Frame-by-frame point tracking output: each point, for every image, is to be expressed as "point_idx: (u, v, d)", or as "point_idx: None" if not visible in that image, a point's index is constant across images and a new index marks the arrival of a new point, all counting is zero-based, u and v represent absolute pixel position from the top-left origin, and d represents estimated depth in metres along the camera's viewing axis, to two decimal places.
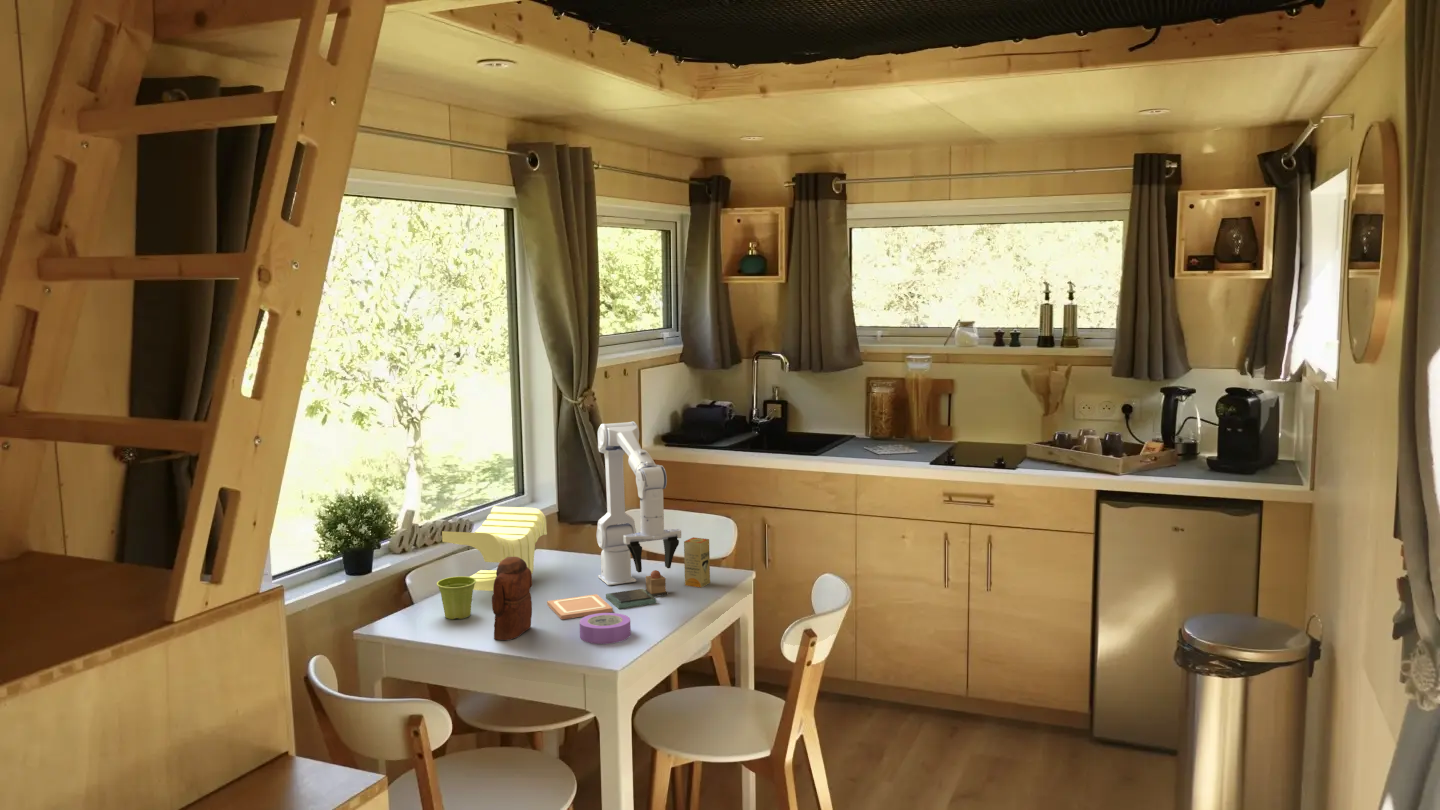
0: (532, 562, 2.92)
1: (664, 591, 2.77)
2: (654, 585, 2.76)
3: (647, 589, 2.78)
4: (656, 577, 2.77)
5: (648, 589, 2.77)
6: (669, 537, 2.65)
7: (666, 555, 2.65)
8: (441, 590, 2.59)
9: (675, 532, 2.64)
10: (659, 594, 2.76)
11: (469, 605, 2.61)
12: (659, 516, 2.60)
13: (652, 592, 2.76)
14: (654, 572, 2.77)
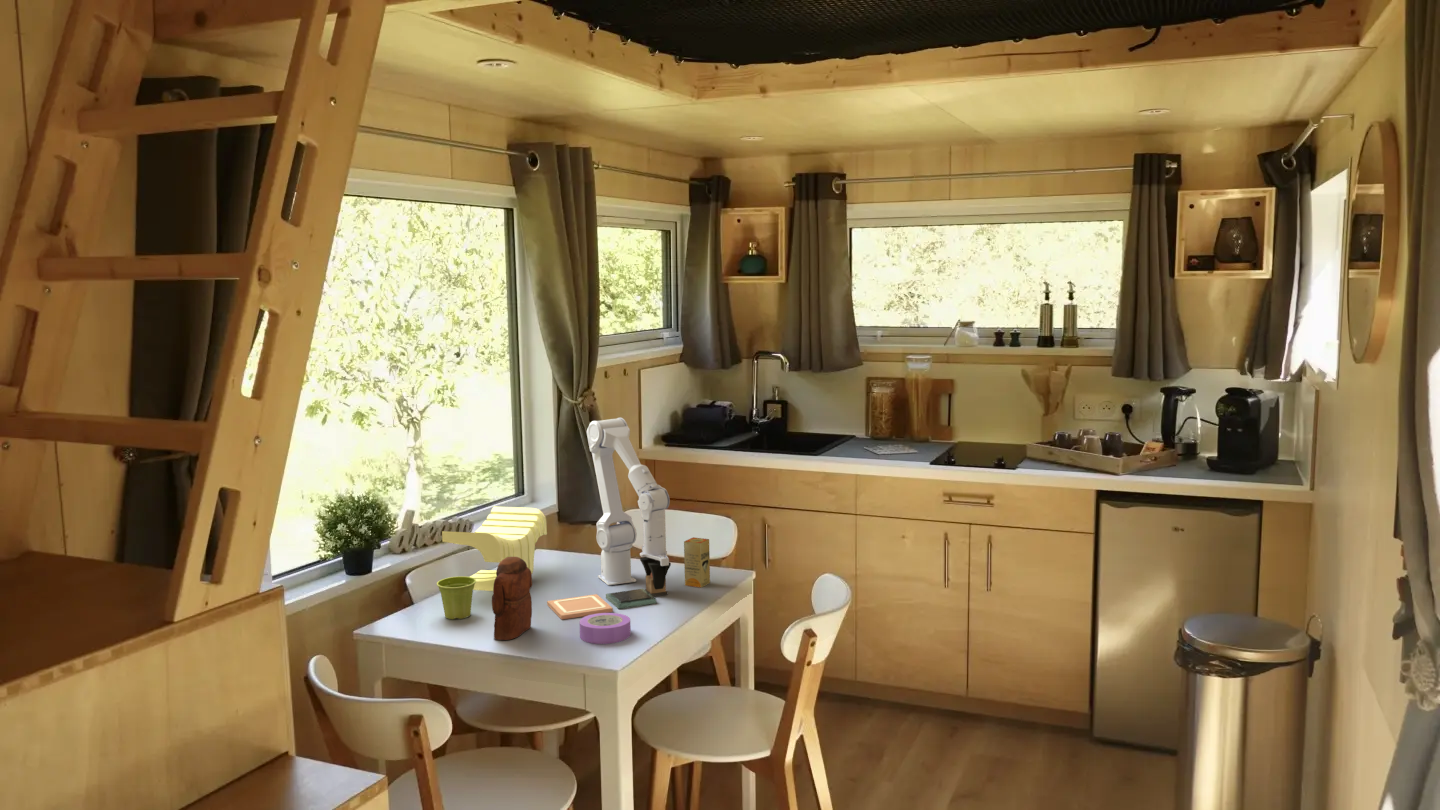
0: (532, 562, 2.92)
1: (664, 591, 2.77)
2: None
3: (647, 589, 2.78)
4: None
5: (648, 589, 2.77)
6: (657, 560, 2.74)
7: None
8: (441, 590, 2.59)
9: (658, 558, 2.71)
10: (659, 594, 2.76)
11: (469, 605, 2.61)
12: (646, 536, 2.74)
13: (652, 592, 2.76)
14: None
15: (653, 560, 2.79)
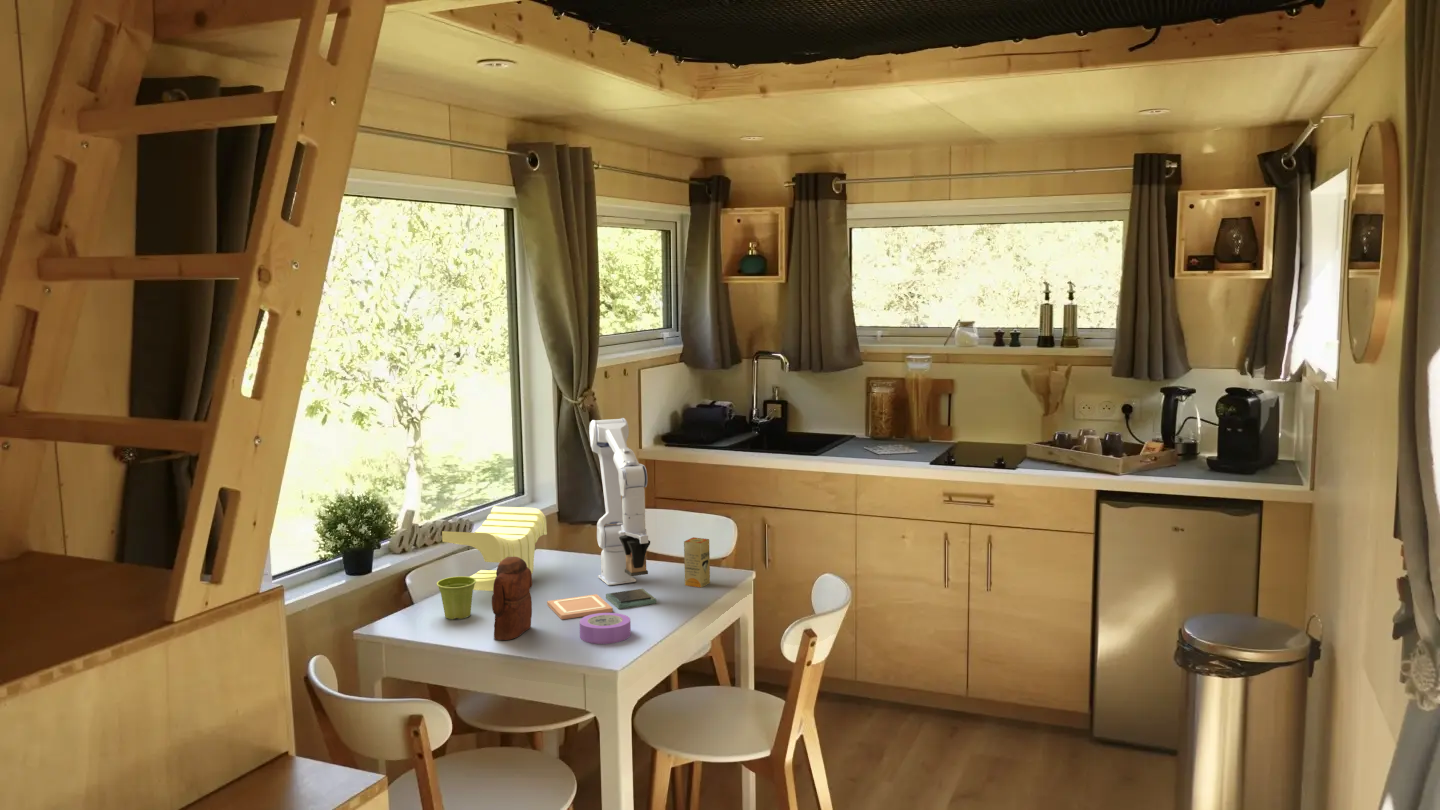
0: (532, 562, 2.92)
1: (644, 570, 2.71)
2: None
3: (627, 568, 2.73)
4: None
5: (628, 568, 2.72)
6: (636, 538, 2.69)
7: None
8: (441, 590, 2.59)
9: (637, 536, 2.66)
10: (639, 573, 2.71)
11: (469, 605, 2.61)
12: (625, 514, 2.69)
13: (632, 571, 2.70)
14: None
15: (632, 539, 2.74)
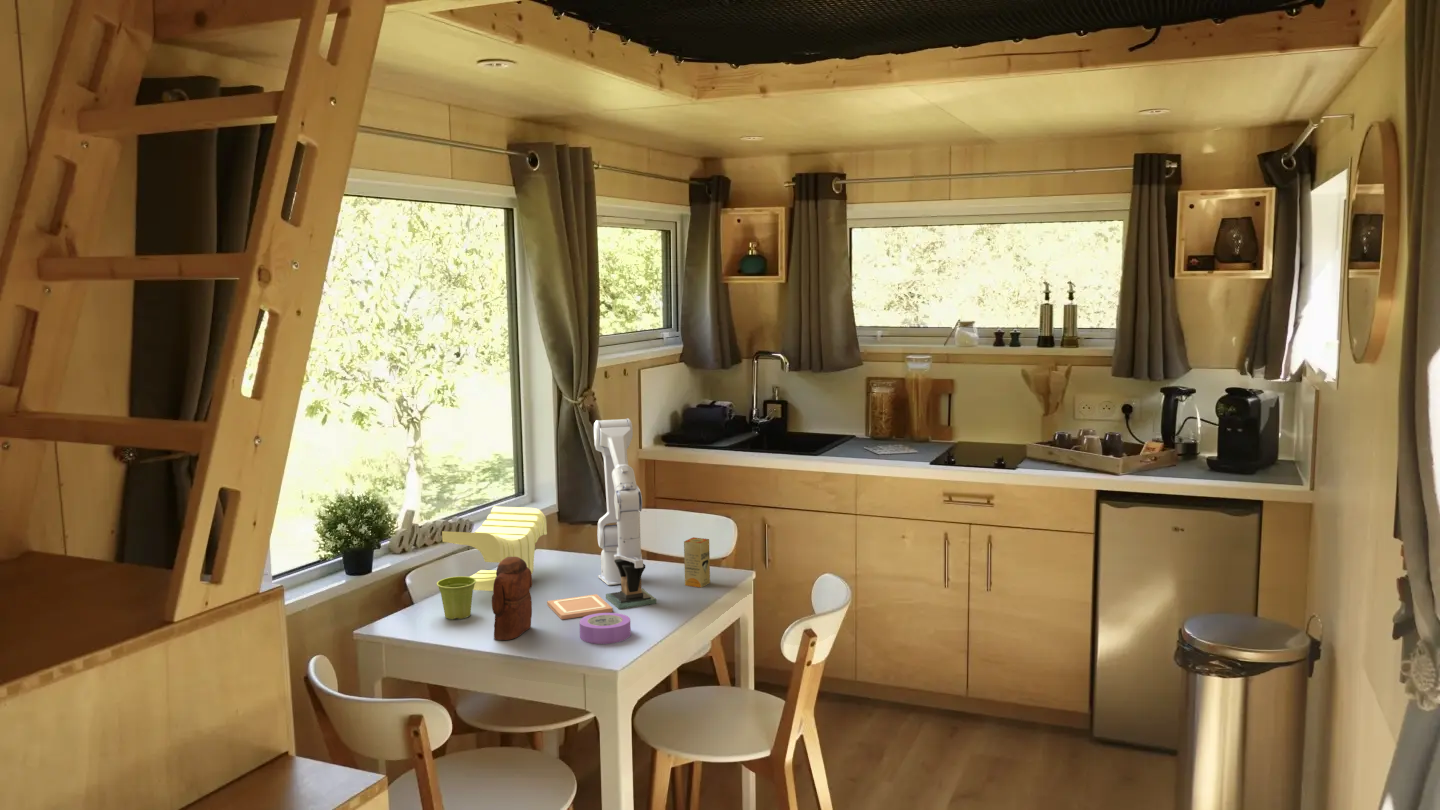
0: (532, 562, 2.92)
1: (640, 592, 2.71)
2: None
3: (622, 590, 2.72)
4: None
5: (623, 590, 2.71)
6: (631, 562, 2.68)
7: None
8: (441, 590, 2.59)
9: (632, 560, 2.65)
10: (634, 595, 2.70)
11: (469, 605, 2.61)
12: (620, 538, 2.68)
13: (627, 593, 2.70)
14: None
15: (628, 562, 2.73)
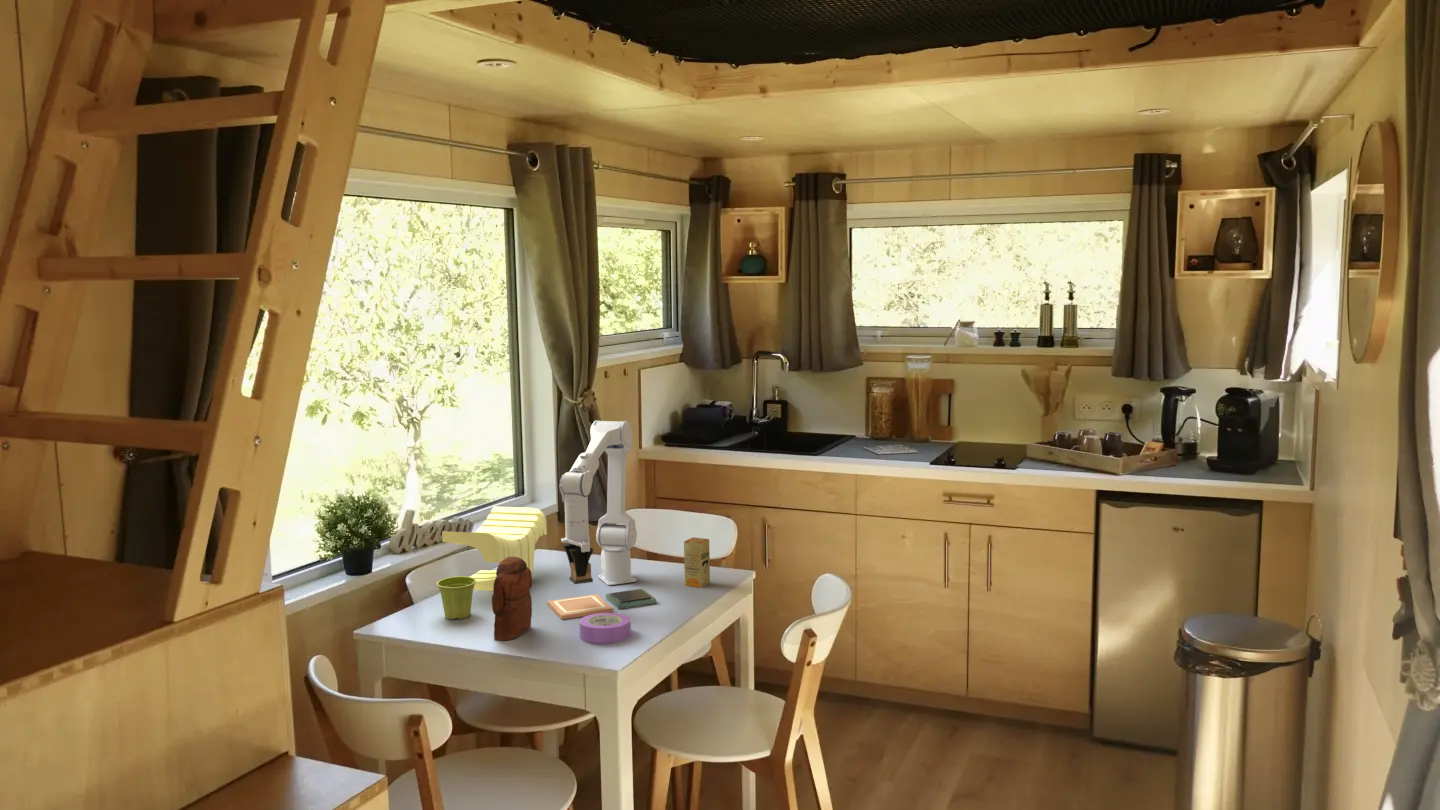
0: (532, 562, 2.92)
1: (589, 578, 2.65)
2: None
3: (572, 576, 2.66)
4: None
5: (573, 576, 2.65)
6: (578, 546, 2.62)
7: None
8: (441, 590, 2.59)
9: (579, 544, 2.59)
10: (584, 581, 2.64)
11: (469, 605, 2.61)
12: (567, 521, 2.62)
13: (576, 579, 2.64)
14: None
15: (576, 546, 2.67)
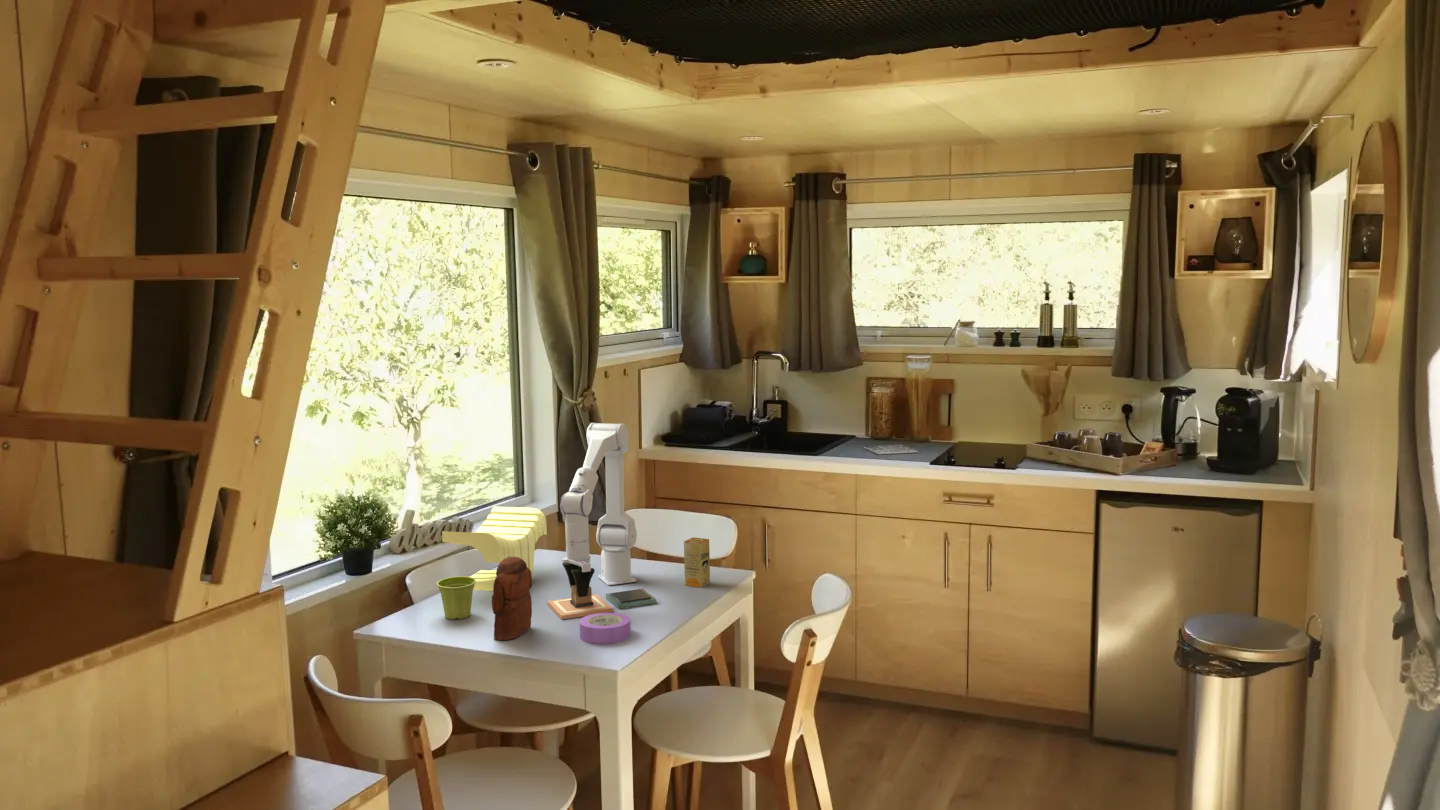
0: (532, 562, 2.92)
1: (590, 601, 2.66)
2: None
3: (572, 599, 2.67)
4: None
5: (573, 599, 2.66)
6: (580, 566, 2.62)
7: None
8: (441, 590, 2.59)
9: (579, 564, 2.60)
10: (584, 604, 2.65)
11: (469, 605, 2.61)
12: (567, 541, 2.63)
13: (577, 602, 2.64)
14: None
15: (576, 565, 2.68)
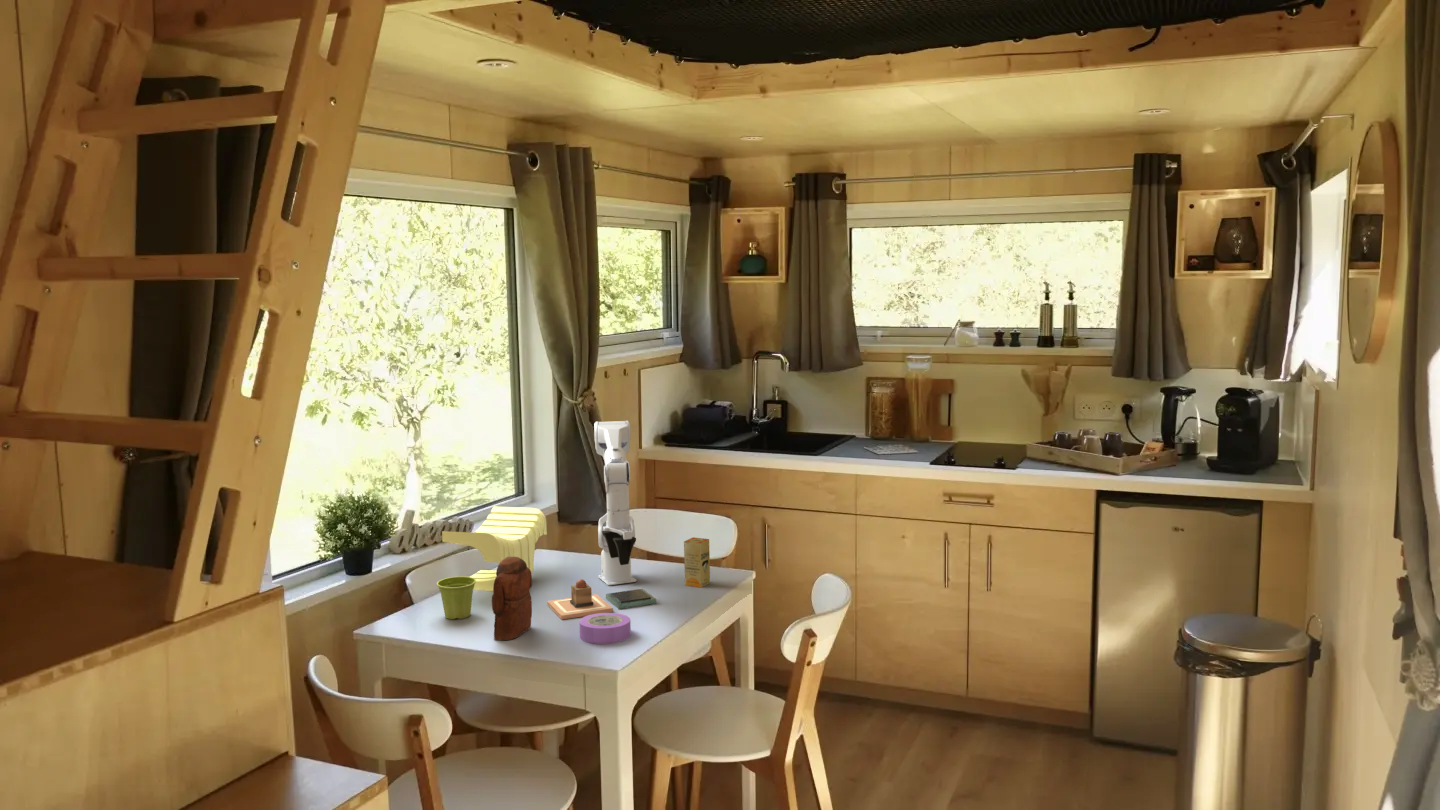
0: (532, 562, 2.92)
1: (590, 601, 2.66)
2: (579, 595, 2.64)
3: (572, 599, 2.67)
4: (582, 587, 2.65)
5: (573, 599, 2.66)
6: (622, 535, 2.70)
7: None
8: (441, 590, 2.59)
9: (621, 532, 2.69)
10: (584, 604, 2.65)
11: (469, 605, 2.61)
12: (609, 510, 2.72)
13: (577, 602, 2.64)
14: (579, 581, 2.66)
15: (615, 533, 2.78)
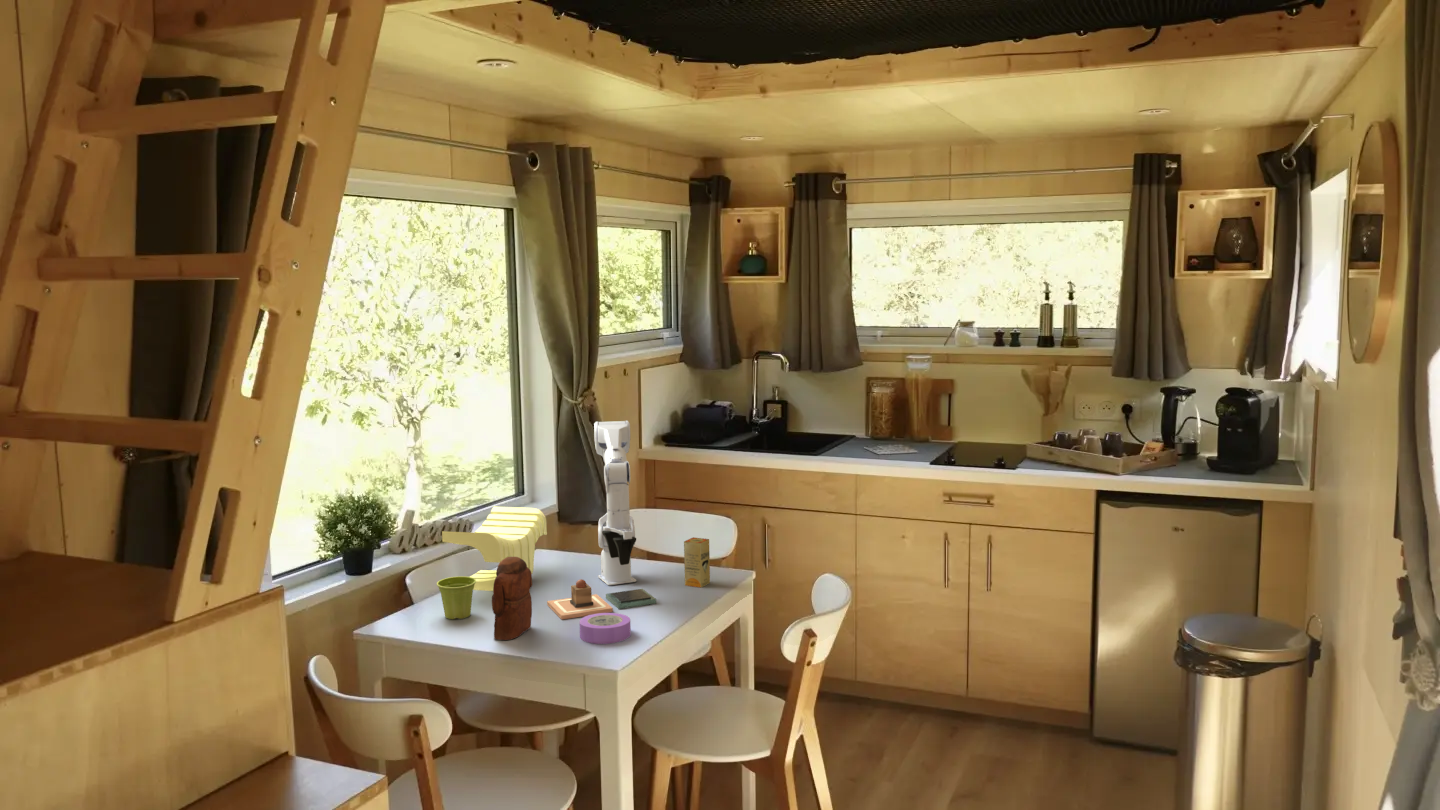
0: (532, 562, 2.92)
1: (590, 601, 2.66)
2: (579, 595, 2.64)
3: (572, 599, 2.67)
4: (582, 587, 2.65)
5: (573, 599, 2.66)
6: (622, 535, 2.70)
7: None
8: (441, 590, 2.59)
9: (621, 532, 2.69)
10: (584, 604, 2.65)
11: (469, 605, 2.61)
12: (609, 510, 2.72)
13: (577, 602, 2.64)
14: (579, 581, 2.66)
15: (615, 533, 2.78)
